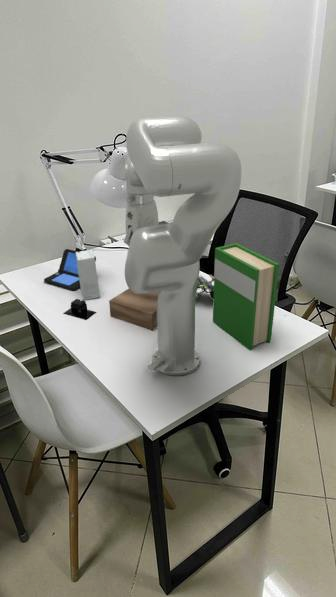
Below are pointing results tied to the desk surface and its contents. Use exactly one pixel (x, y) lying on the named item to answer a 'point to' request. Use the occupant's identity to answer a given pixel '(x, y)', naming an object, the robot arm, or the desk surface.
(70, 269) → the game console
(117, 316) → the walnut block
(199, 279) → the passion flower
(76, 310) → the build plate
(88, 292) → the skincare box
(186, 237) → the robot arm
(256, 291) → the hardback book
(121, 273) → the desk surface
